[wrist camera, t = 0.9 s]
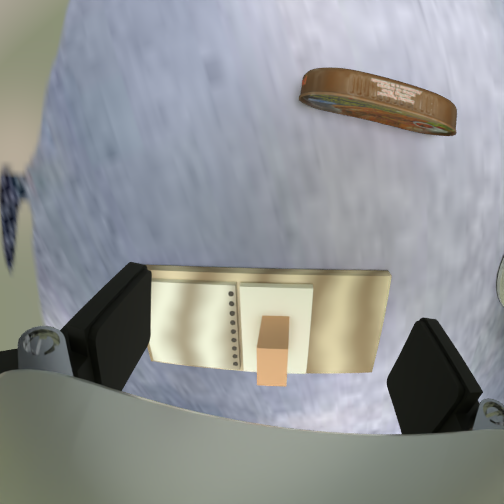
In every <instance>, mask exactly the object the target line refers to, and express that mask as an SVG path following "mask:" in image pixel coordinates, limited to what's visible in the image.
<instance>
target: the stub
mask: <svg viewBox="0 0 504 504" xmlns="http://www.w3.org/2000/svg"><path fill="white" fill-rule="evenodd" d="M312 299H313V284H274V283H241V284H240V308H241V329H242V349H243V368H244V371H249V372H257V385H265V386H286V381H287V373H297V374H306V369H307V359H308V349H309V338H310V326H311V313H312Z"/></svg>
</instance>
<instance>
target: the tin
mask: <svg viewBox="0 0 504 504" xmlns="http://www.w3.org/2000/svg"><path fill="white" fill-rule="evenodd" d="M299 100H300V101H301V102H302V103H304V104H306V105H309V106H311V107H314V108H317V109H320V110H324V111H328V112H333V113H338V114H342V115H347V116H352V117H357V118H361V119H366V120H370V121H374V122H378V123H382V124H386V125H390V126H394V127H398V128H401V129H405V130H409V131H414V132H419V133H424V134H430V135H439V136H453V135H455V134H456V118H457V109H456V107H455V105H454V104H453V103H452V102H451V101H450V100H448V99H446V98H445V97H443V96H441V95H439V94H436V93H434V92H431V91H428V90H425V89H422V88H419V87H416V86H413V85H410V84H406V83H403V82H400V81H396V80H393V79H389V78H385V77H381V76H377V75H373V74H369V73H365V72H360V71H356V70H350V69H343V68H317V69H313V70H310V71H308V72H307V73H306V74H305V75H304V77H303V80H302V88H301V95H300V96H299Z"/></svg>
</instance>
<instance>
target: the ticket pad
mask: <svg viewBox="0 0 504 504" xmlns="http://www.w3.org/2000/svg"><path fill="white" fill-rule="evenodd" d="M146 266H147V269H148V270H150V271H151V272H152V285H151V337H150V341H149V344H148V350H149V354H150V358H151V361H156V362H163V363H171V364H178V365H187V366H196V367H205V368H216V369H228V370H241V371H244V368H243V349H242V329H241V308H240V284H241V283H274V284H313V299H312V313H311V326H310V338H309V349H308V359H307V369H306V373H366V372H372V369H373V365H374V361H375V357H376V353H377V349H378V344H379V340H380V335H381V331H382V326H383V321H384V316H385V311H386V306H387V300H388V295H389V289H390V283H391V274H390V273H389V271H377V270H309V269H263V268H226V267H193V266H164V265H146Z"/></svg>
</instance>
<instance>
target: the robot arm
mask: <svg viewBox="0 0 504 504" xmlns="http://www.w3.org/2000/svg"><path fill="white" fill-rule="evenodd" d="M151 285H152V272H151V271H150V270H148V269H147V266H146V265H142V264H138V263H134V262H130V263H128V264H127V265H126V266H125V267H124V268H123V269H122V270H121V271H120V272H119V273H118V274H117V275H115V276H114V277H113V278H112V279H111V280H110V281H109V282H108V283H107V284H106V285H105V286H104V287H103V288H102V289H101V290H100V291H99V292H98V293H97V294H96V295H95V296H94V297H93V298H92V299H91V300H90V301H89V302H88V303H87V304H86V305H85V306H84V307H83V308H82V309H81V310H80V311H79V312H78V313H77V314H76V315H75V316H74V317H73V318H72V319H71V320H70V321H69V322H68V323H67V324H66V325H65V326H64V327H63V328H62V329H61V330H58V329H56V328H54V327H50V326H38V327H33V328H31V329H29V330H27V331H25V332H24V333H23V334H22V335H21V337H20V338H19V340H18V349H12V350H6V351H0V504H504V405H503V404H502V403H500V402H499V401H497V400H494V399H489V398H488V399H484V400H482V401H481V402H480V404H479V402H478V398H479V397H480V396H481V394H482V393H483V391H482V390H481V388H480V386H479V384H478V383H477V381H476V379H475V378H474V376H473V375H472V373H471V371H470V370H469V368H468V366H467V365H466V363H465V362H464V360H463V358H462V357H461V355H460V354H459V352H458V351H457V349H456V348H455V346H454V345H453V343H452V341H451V340H450V338H449V337H448V335H447V334H446V333H445V331H444V330H443V328H442V327H441V325H440V324H439V322H438V321H437V320H436V319H429V318H421V319H420V320H419V321H416V323H415V324H414V326H413V328H412V330H411V332H410V335H409V337H408V339H407V341H406V343H405V345H404V347H403V349H402V351H401V353H400V355H399V357H398V359H397V361H396V363H395V364H394V366H393V368H392V370H391V372H390V374H389V376H388V378H387V387H388V390H389V394H390V397H391V400H392V403H393V406H394V409H395V412H396V416H397V419H398V422H399V426H400V429H401V432H402V434H354V433H336V432H322V431H311V430H301V429H292V428H284V427H277V426H270V425H263V424H257V423H250V422H245V421H239V420H233V419H228V418H223V417H218V416H213V415H208V414H204V413H199V412H195V411H191V410H187V409H183V408H179V407H175V406H171V405H167V404H163V403H160V402H156V401H153V400H149V399H146V398H142V397H139V396H136V395H132V394H129V393H126V392H122V389H123V388H124V386H125V384H126V382H127V380H128V379H129V377H130V375H131V373H132V372H133V370H134V368H135V366H136V365H137V363H138V361H139V360H140V358H141V356H142V354H143V353H144V351H145V349H146V348H147V346H148V344H149V341H150V337H151ZM497 293H498V298H499V300H500V303H501V304H502V305H503V307H504V258H503V261H502V263H501V266H500V269H499V273H498V279H497Z"/></svg>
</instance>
